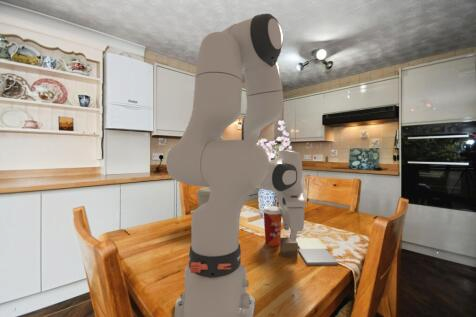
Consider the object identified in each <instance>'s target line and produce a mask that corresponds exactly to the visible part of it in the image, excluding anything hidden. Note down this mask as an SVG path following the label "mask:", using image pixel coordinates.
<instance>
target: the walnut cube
mask: <svg viewBox="0 0 476 317" xmlns="http://www.w3.org/2000/svg"><path fill="white" fill-rule="evenodd" d="M298 249H299V248H298V243H297V241H296V240H295V241H292V240H291V239H290V236H289V237H280V245H279V251H280V253H281V256H282V258H298V256H299V255H298V254H299V252H298Z"/></svg>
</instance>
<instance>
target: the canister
mask: <svg viewBox="0 0 476 317" xmlns="http://www.w3.org/2000/svg"><path fill="white" fill-rule="evenodd" d="M195 193H196V194H197V195H196V196H197V202H198V203H197V204H198V207H199V206H201V205H202V204H204V203H206V202H208V200H209V197H210V187H203V186H202V187H201V188H199V189H198V190H196V191H195Z"/></svg>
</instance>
